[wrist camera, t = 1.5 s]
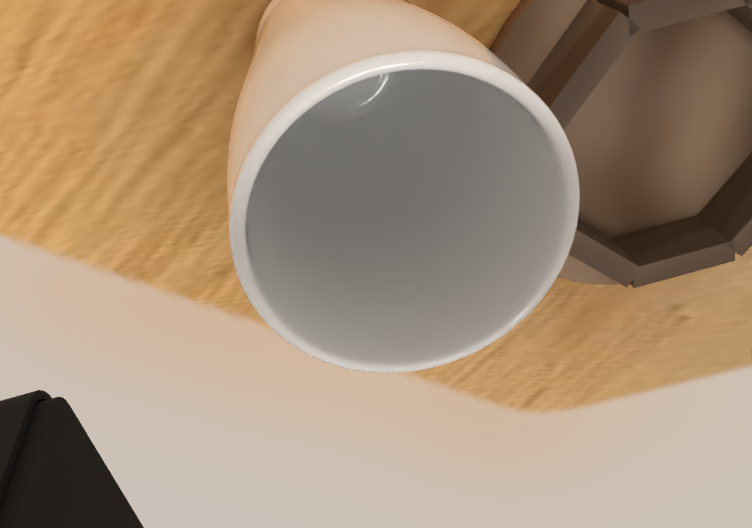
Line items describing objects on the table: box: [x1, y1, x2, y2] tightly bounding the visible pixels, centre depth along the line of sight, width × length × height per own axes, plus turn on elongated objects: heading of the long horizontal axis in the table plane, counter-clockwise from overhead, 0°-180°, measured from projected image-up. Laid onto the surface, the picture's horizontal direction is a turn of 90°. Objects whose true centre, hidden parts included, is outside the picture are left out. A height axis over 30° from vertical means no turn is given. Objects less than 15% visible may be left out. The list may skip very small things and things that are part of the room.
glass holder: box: [490, 0, 752, 288], centre depth 28 cm, size 15×15×4 cm
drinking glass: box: [227, 0, 580, 373], centre depth 19 cm, size 7×7×15 cm
